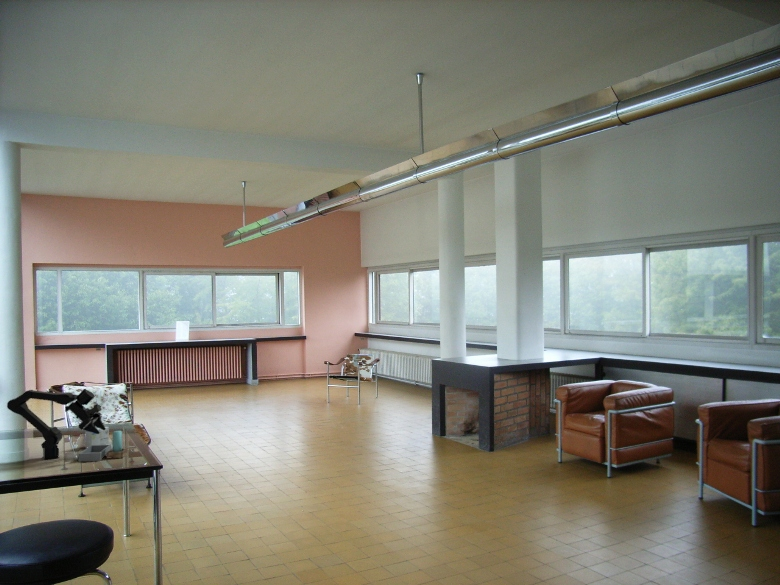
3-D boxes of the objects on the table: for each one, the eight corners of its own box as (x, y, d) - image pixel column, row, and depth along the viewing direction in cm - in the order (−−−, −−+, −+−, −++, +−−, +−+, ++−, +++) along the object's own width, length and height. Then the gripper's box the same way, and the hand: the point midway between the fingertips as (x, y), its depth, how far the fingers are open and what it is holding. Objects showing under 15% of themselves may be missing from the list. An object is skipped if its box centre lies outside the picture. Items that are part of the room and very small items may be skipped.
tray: (78, 461, 320) (78, 453, 320) (90, 452, 337) (90, 445, 337) (100, 460, 321) (100, 453, 321) (111, 452, 338) (111, 444, 338)
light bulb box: (102, 444, 356) (102, 425, 356) (109, 445, 352) (109, 426, 352) (84, 448, 347) (84, 428, 347) (91, 449, 344) (91, 430, 344)
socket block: (106, 458, 326) (106, 452, 326) (111, 454, 334) (111, 448, 334) (122, 457, 327) (122, 452, 327) (127, 453, 335) (127, 448, 335)
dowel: (114, 457, 327) (114, 432, 327) (111, 456, 330) (111, 431, 330) (123, 456, 330) (123, 431, 330) (119, 454, 333) (119, 430, 333)
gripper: (84, 403, 319) (107, 424, 321) (97, 397, 338) (118, 416, 339) (68, 419, 319) (91, 439, 320) (82, 412, 337) (103, 431, 338)
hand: (102, 431), depth 329 cm, fingers open, 9 cm apart
